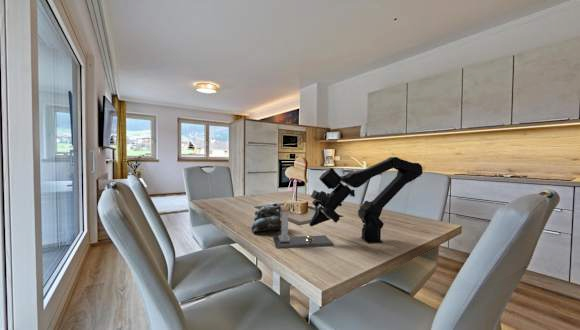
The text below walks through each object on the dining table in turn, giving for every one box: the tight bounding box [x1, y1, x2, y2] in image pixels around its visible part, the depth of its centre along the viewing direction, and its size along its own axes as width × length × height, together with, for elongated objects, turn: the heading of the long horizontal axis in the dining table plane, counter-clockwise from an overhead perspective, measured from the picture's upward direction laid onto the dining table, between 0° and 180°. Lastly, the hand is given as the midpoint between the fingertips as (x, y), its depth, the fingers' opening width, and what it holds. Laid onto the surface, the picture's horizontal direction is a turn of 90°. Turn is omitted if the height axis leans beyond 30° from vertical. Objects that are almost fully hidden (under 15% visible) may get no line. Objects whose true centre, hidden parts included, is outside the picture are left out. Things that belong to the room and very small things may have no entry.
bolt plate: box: [272, 234, 334, 249], centre depth 93 cm, size 22×9×2 cm, turn 100°
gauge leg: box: [277, 207, 291, 242], centre depth 91 cm, size 4×4×12 cm
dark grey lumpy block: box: [251, 203, 282, 234], centre depth 107 cm, size 15×12×14 cm
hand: (310, 225), depth 93 cm, fingers closed
